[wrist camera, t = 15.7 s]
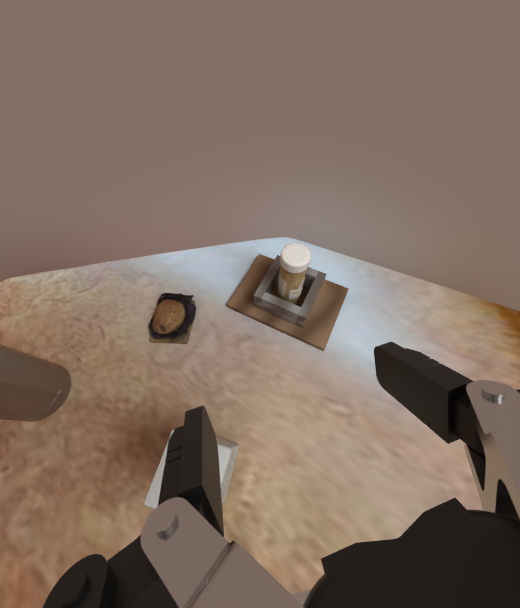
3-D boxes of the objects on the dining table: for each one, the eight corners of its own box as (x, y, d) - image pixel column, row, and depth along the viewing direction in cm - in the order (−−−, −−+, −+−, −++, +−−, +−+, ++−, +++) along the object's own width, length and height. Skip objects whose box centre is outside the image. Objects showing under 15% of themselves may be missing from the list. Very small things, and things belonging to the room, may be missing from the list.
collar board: (227, 307, 50) (223, 293, 45) (259, 256, 56) (259, 239, 51) (323, 350, 46) (330, 340, 41) (347, 291, 51) (355, 275, 47)
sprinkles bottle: (298, 309, 48) (309, 268, 37) (275, 306, 49) (278, 263, 37) (301, 289, 51) (312, 244, 39) (278, 286, 51) (283, 240, 39)
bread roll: (190, 345, 47) (185, 339, 44) (146, 343, 47) (137, 336, 44) (200, 296, 52) (196, 287, 49) (160, 294, 52) (153, 284, 49)
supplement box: (177, 484, 37) (139, 505, 25) (197, 429, 40) (171, 426, 29) (225, 502, 36) (207, 532, 24) (241, 444, 39) (232, 447, 28)
